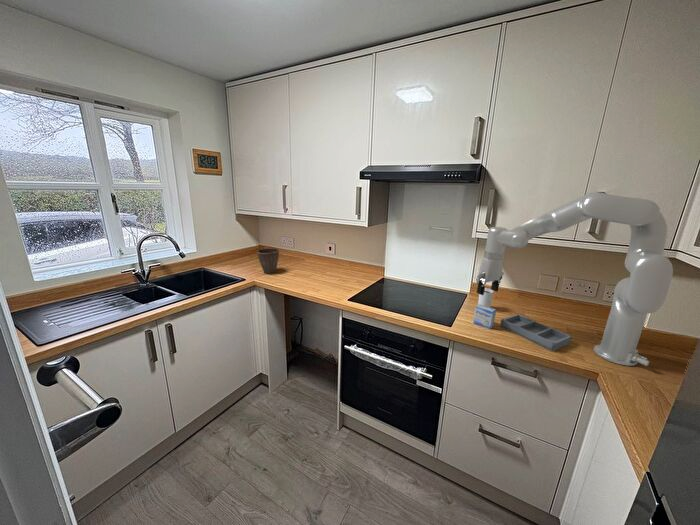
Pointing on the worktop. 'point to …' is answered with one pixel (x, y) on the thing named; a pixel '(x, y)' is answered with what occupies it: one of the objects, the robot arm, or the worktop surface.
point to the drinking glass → (486, 298)
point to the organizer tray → (536, 332)
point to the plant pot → (268, 259)
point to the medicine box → (484, 316)
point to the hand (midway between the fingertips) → (487, 292)
